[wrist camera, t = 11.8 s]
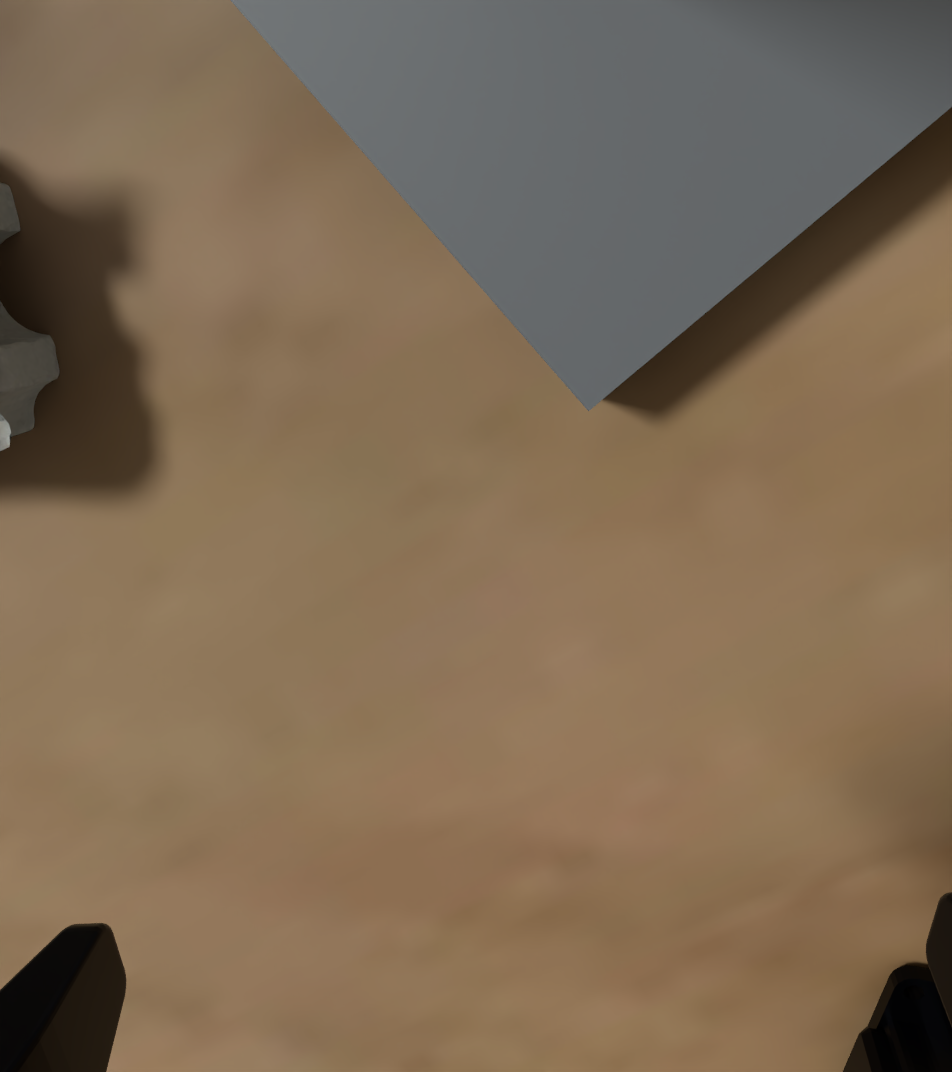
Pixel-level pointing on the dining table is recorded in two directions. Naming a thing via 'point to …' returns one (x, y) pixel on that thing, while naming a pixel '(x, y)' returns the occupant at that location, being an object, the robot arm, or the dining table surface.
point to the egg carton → (20, 352)
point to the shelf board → (618, 141)
